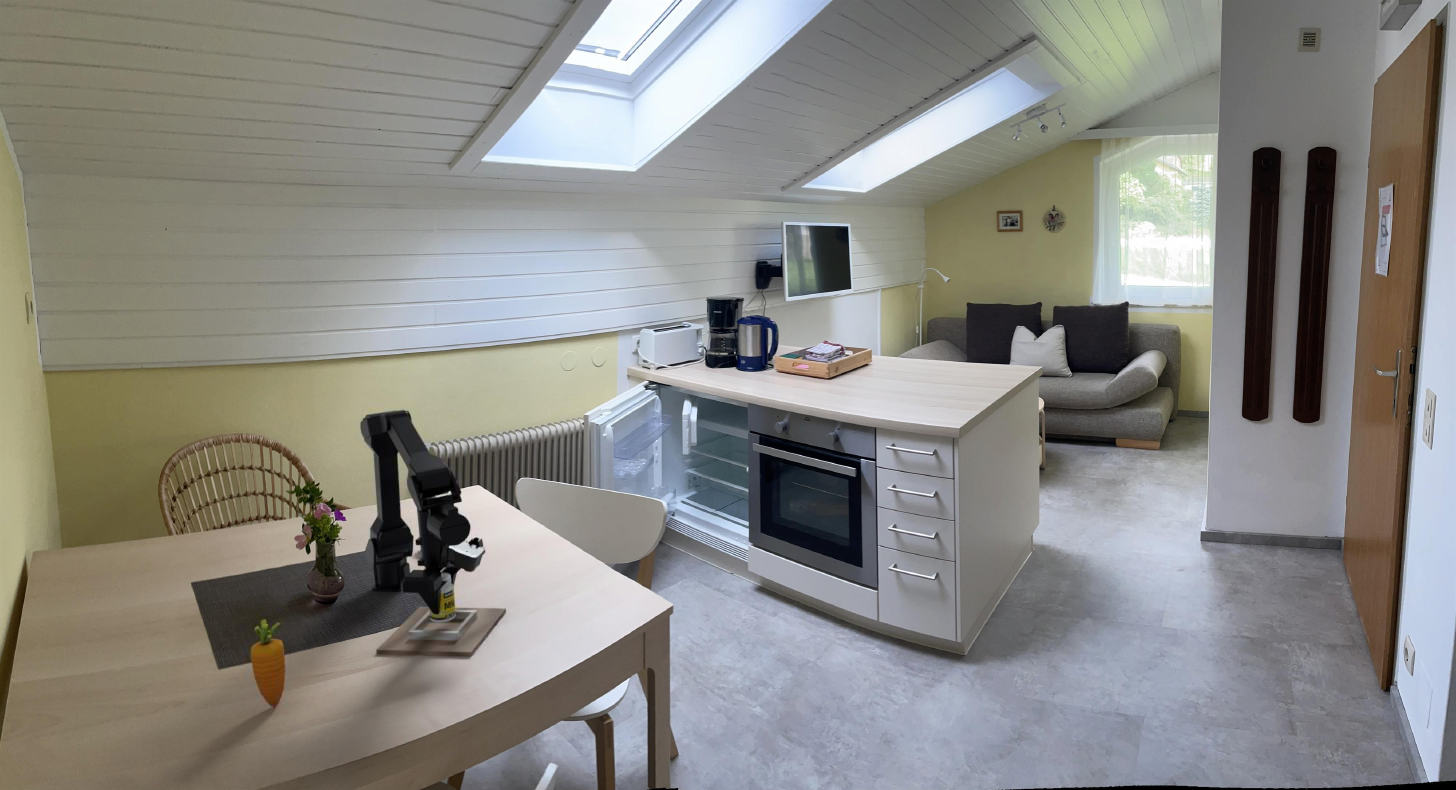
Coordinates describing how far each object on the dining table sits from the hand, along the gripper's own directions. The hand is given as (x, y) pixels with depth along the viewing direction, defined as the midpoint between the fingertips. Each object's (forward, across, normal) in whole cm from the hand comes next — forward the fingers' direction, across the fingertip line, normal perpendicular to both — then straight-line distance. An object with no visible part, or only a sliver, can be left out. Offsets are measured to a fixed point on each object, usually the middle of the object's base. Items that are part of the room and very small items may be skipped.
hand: (442, 608), depth 161 cm
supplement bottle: (+2, 0, 0) cm, 2 cm away
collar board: (+5, 0, 0) cm, 5 cm away
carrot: (+5, -27, +17) cm, 32 cm away
